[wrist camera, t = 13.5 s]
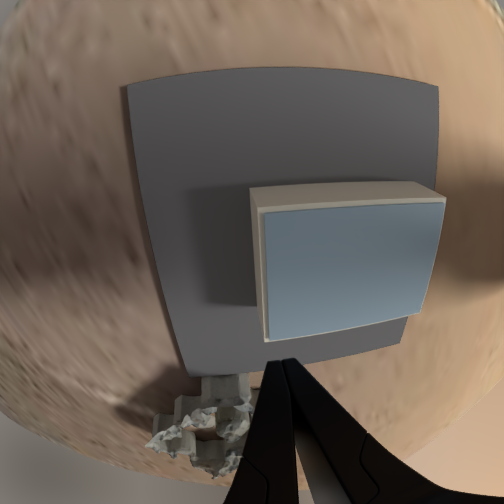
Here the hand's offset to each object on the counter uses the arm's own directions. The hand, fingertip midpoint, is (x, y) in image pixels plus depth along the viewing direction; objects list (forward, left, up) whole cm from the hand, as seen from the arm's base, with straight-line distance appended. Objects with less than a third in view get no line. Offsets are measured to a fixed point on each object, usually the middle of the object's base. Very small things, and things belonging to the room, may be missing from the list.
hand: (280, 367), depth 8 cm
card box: (0, -1, -5) cm, 5 cm away
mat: (-2, -1, -6) cm, 7 cm away
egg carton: (+4, +12, -7) cm, 15 cm away
